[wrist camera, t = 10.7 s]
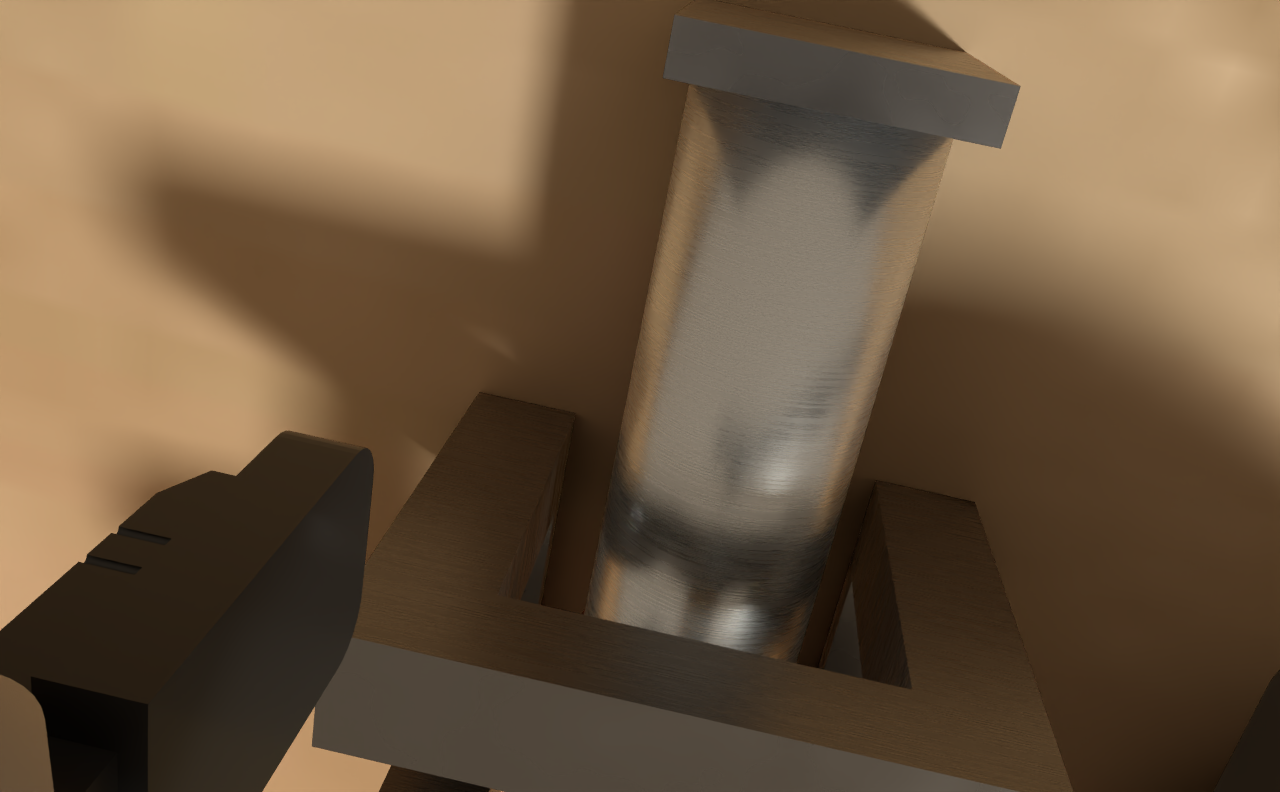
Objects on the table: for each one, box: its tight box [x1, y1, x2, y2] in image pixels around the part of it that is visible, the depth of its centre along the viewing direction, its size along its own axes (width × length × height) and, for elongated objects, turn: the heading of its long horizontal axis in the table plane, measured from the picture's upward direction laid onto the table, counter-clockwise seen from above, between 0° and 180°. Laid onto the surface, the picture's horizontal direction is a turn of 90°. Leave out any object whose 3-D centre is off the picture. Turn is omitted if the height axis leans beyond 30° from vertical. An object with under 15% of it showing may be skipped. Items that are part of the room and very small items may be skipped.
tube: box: [582, 0, 1021, 663], centre depth 24 cm, size 6×22×6 cm, turn 169°
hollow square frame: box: [312, 392, 1073, 792], centre depth 24 cm, size 12×10×10 cm
